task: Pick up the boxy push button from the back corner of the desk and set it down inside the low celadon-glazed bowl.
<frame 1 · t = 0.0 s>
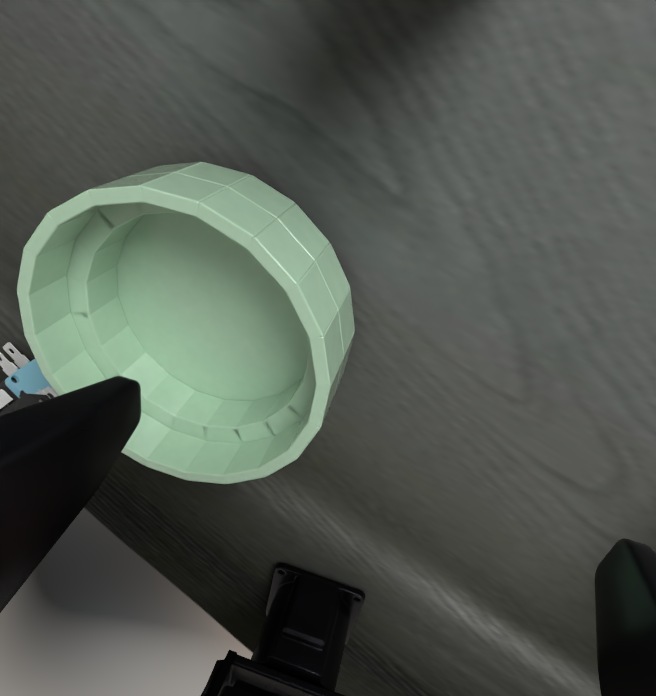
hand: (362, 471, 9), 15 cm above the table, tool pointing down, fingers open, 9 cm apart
push button: (54, 378, 32), on the table
bowl: (221, 305, 26), on the table
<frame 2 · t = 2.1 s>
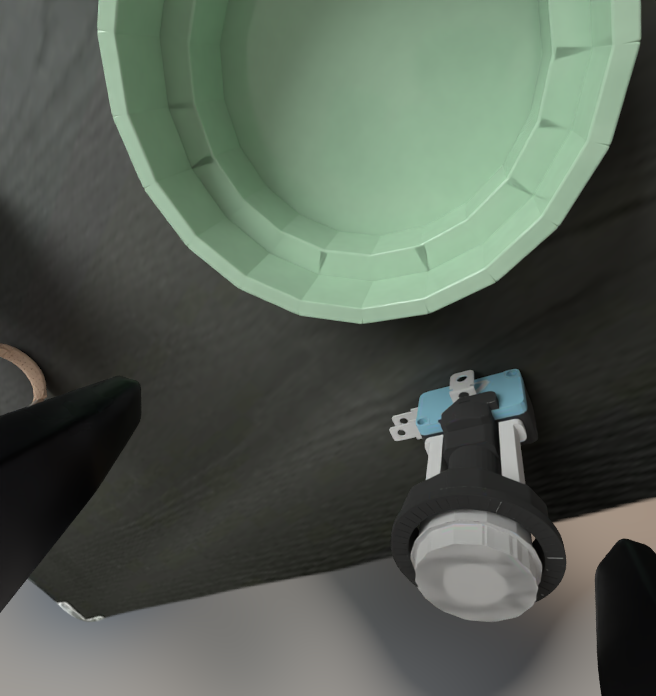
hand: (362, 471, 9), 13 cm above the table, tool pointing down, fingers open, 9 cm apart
push button: (459, 396, 24), on the table
bowl: (372, 77, 18), on the table
brown ring: (30, 360, 30), on the table
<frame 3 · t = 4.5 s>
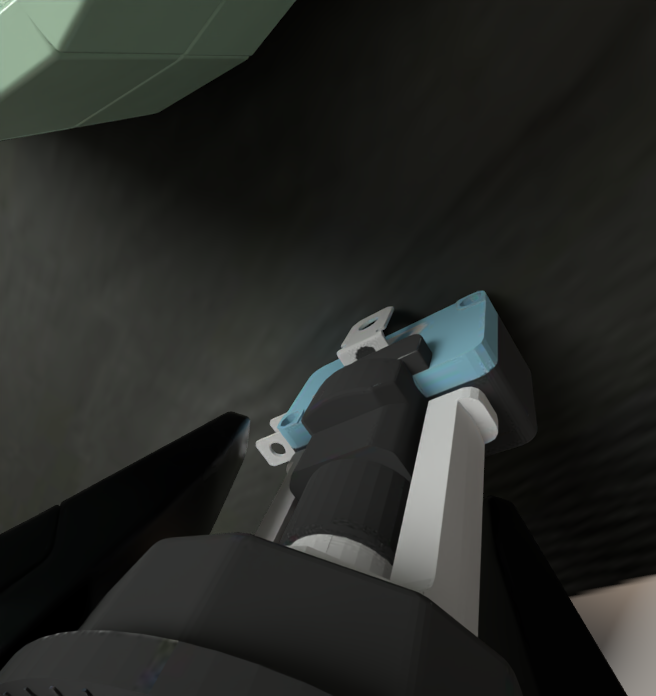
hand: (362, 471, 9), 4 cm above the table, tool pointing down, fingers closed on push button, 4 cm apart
push button: (387, 368, 12), on the table, touching gripper
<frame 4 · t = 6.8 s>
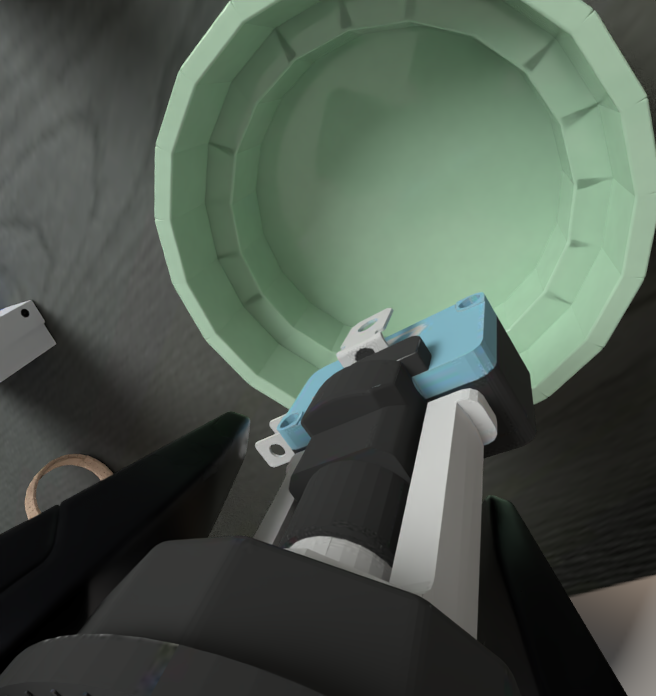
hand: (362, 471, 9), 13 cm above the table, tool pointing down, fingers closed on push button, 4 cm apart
push button: (386, 370, 12), point 9 cm above the table, touching gripper
bowl: (399, 200, 19), on the table
brown ring: (101, 464, 32), on the table
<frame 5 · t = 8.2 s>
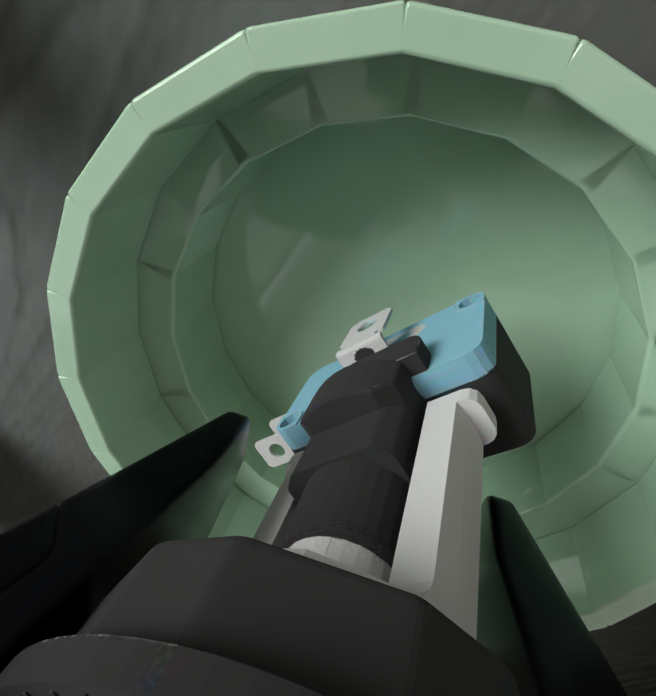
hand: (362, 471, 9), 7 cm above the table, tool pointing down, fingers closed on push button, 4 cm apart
push button: (386, 369, 12), point 3 cm above the table, touching gripper
bowl: (398, 315, 15), on the table
when the fingers open (4 cm above the table, at t = 9.3 s): push button stays where it is, resting on bowl.
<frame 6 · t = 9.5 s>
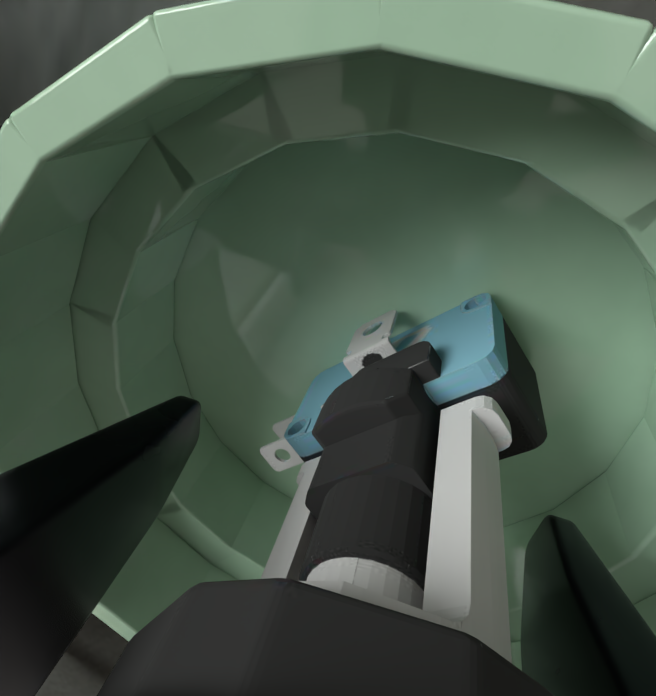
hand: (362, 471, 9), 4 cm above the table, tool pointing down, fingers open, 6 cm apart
push button: (390, 370, 12), resting on bowl
bowl: (390, 360, 12), on the table
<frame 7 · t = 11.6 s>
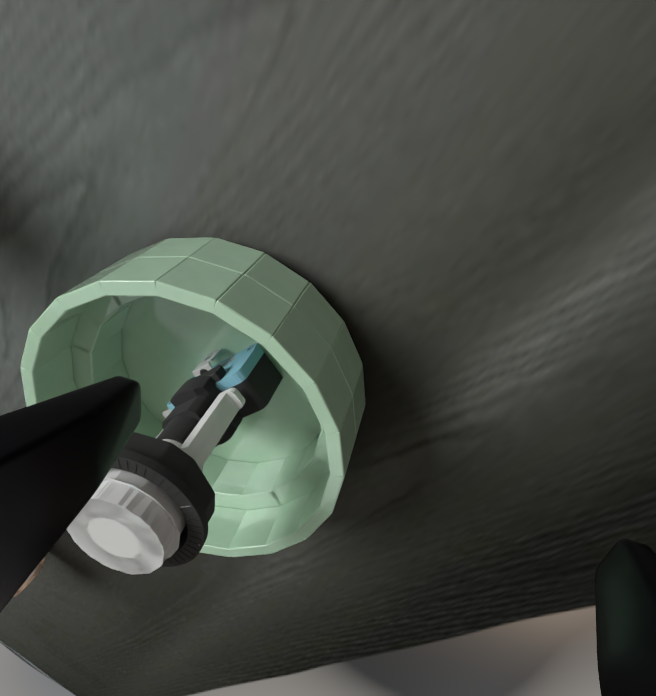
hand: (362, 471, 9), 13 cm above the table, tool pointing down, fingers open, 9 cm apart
push button: (226, 375, 25), resting on bowl
bowl: (228, 370, 25), on the table
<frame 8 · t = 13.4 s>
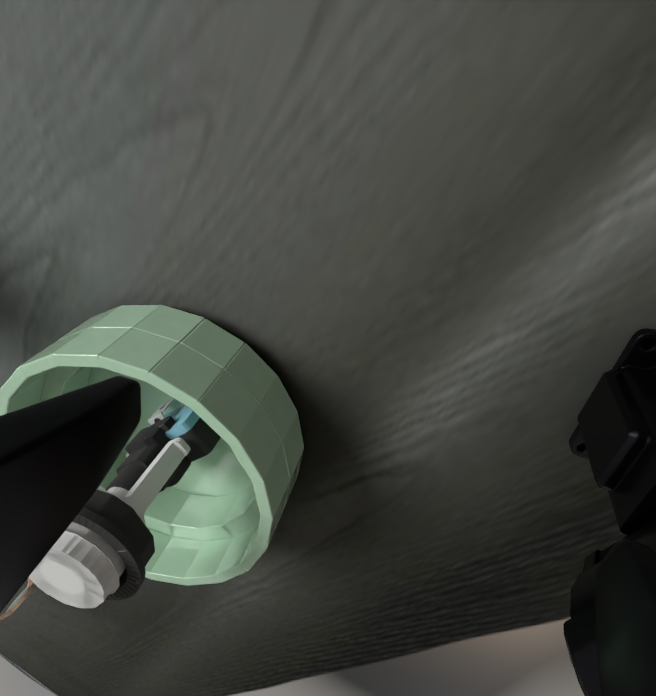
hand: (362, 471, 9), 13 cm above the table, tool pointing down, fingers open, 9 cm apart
push button: (182, 420, 28), resting on bowl
bowl: (185, 415, 28), on the table
brown ring: (23, 554, 41), on the table
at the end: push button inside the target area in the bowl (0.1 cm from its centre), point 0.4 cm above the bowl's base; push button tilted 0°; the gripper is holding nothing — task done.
